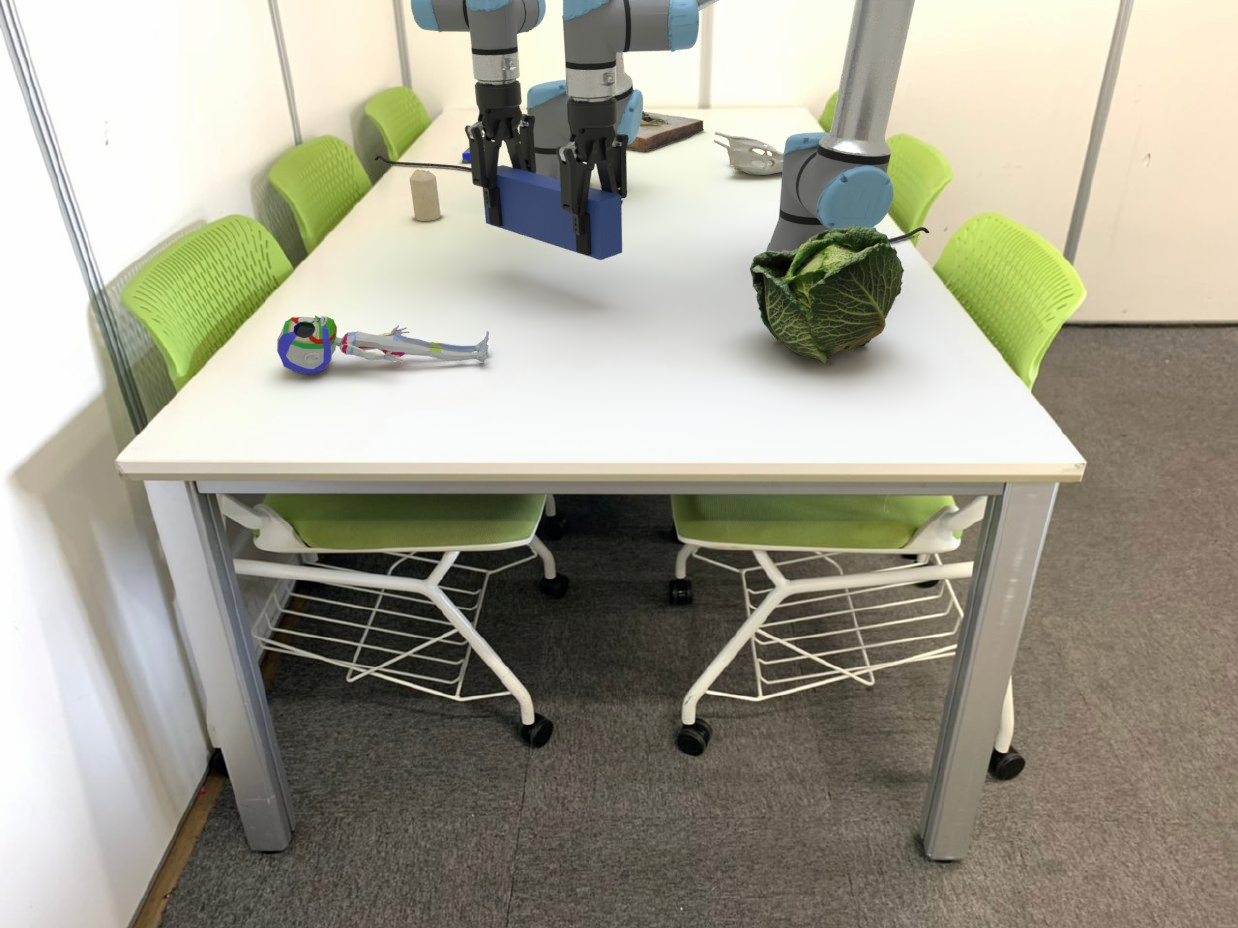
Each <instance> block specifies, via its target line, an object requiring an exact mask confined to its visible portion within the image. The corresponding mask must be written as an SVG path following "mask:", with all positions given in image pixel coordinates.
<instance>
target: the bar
mask: <svg viewBox="0 0 1238 928" xmlns="http://www.w3.org/2000/svg"><path fill="white" fill-rule="evenodd" d="M495 187H497V188H500V199H501V211H502V222H503V226H500V227H499V226H496V225H493V224H490V220H489V209H488V207H487V206H486V205H485V199H484V189H483V188H482V196H483V204H484V205H483V206H484V207H483V208H484V215H485V216H484V217H485V224H487V225H490V226H492V227H496V228H498V229H502V230H505V231H508V232H511V233H514V234H518V235H521V236H524V237H527V238H531V239H532V240H537V241H540V242H542V243H546V244H549V245H553V246H555V247H558V248H562V249H564V250H568V251H570V252H573V253H577V254H580V255H583V256H585V257H586V256H587V257H589V258H591V259H595V260H597V261H602V260H605V259H609V258H611V257H614V256H617V255H620V254H622V253H623V222H622V221H623V217H622V216H623V214H622V211H623V209H622V205H623V203H621V200H622V199H621V195H618V194H614V193H610V192H606V191H602V189H598V188H593V187H590V186H589V193H588V201H587V208H586V213H587V214H590V230H591V255H585V254H582V253H578V252H576V234H574V232H573V219H572V214H571V213H569V212H565V211H563V210H562V209H561V189H560V180H559V179H555V178H552V177H548V176H544V175H540V174H536V173H532V172H528V171H524V170H520V169H516V168H513V167H512V166H508V165H504V164H501V165H498V167H497V177H496V186H495ZM578 206H579V205H578Z"/></svg>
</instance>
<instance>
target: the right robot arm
mask: <svg viewBox="0 0 1238 928" xmlns="http://www.w3.org/2000/svg"><path fill="white" fill-rule="evenodd" d="M719 1H720V0H562V17H561V18H562V27H563V28H562V29H563V46H564V61H565V62H564V63H565V64H564V67H565V69H564V70H565V71H564V72H565V80H566V94H567V95H568V96H570V98H569V99H568V101H567V118H568V124H569V125H570V127H571V136H570V140H569V143H568V144H567V145H565V146H564V147H561V146H558V147H557V148H556V154H557V157H558V160H559V165H560V189H561V209H562V210H563V211H565V212H569V213H571V214H572V219H573V232H574V234H576V252H575V253H577V252H578V253H577V254H580V253H582V254H581V255H583V254H585V255H584V256H586V255H591V230H590V214H587V213H586V208H587V201H588V193H589V187H590V185H591V179H592V172H593V171H594V170H595V167H596V171H597V177H598V180H599V184H600V188H601V189H600V190H602V191H606V192H610V193H614V194H618V195H621V203H622V204H623V203H624V200H623V199H627V196H628V174H627V173H628V172H627V171H628V169H627V168H628V167H627V165H628V164H627V150H628V149H627V144H628V140H629V137H628V135H626V134H621V133H616V132H615V129H614V126H613V125H615V124H616V122H617V100H616V99H615V98H614V97H612V96H613V95H615V94H616V53H617V52H622V53H623V54H624V53H629V52H630V53H633V52H635V53H637V52H667V51H668V52H672V53H674V52H675V51H681V50H690V49H692V48H693V47H694V46H695V45H696V43H697V40H698V37H699V29H700V11H702V10H703V9H706V8H708V7H710V6H711V5H714V4H715V3H718V2H719ZM915 3H916V0H855V1H854V7H853V11H852V18H851V21H850V22H851V23H850V26H849V33H848V38H847V43H846V50H845V54H844V58H843V64H842V70H841V74H840V80H839V86H838V90H837V95H836V101H835V106H834V112H833V117H832V122H831V127H830V130H829V132H827V131H818V132H802V133H795V134H791V135H790V136H788V137H787V138H786V141H785V144H784V151H783V152H782V153H783V170H782V172H781V184H780V185H781V186H780V197H779V198H780V199H779V211H778V212H779V213H778V218H777V219H778V220H777V222H776V225H775V226H774V230H773V233H772V236H771V239H770V241H769V243H768V244H767V247H766V251H765V252H767V251H775V252H776V251H781V252H791V251H793V250H796V249H798V248H800V246H801V245H802V244H804V243H806V241H807V240H808V239H809V238H811V237H813V236H815V235H817V234H818V233H820V232H822V231H825V230H831V229H834V228H838V229H841V228H848V227H850V226H852V225H856V226H855V227H857V226H861V227H873V228H875V226H877V225H878V224H880V223H881V222H882V221H883V220H884V218H885V217H886V216H887V214H888V213H889V211H890V209H891V207H892V204H893V200H894V186H893V182H892V181H891V177H890V176H889V174H888V173H887V172H888V170H889V164H890V159H891V155H892V148H891V147H890V145H889V144H888V142H887V141H886V134H887V133H886V132H887V128H888V124H889V121H890V120H889V119H890V114H891V111H892V105H893V101H894V97H895V93H896V88H897V83H898V78H899V74H900V71H901V65H902V61H903V56H904V53H905V52H904V51H905V48H906V43H907V38H908V34H909V29H910V25H911V21H912V17H913V11H914V7H915ZM582 162H583V163H582ZM578 205H579V206H578ZM919 232H924V233H925V234H930V233H931V232H930V231H929V229H928V228H926V227H924V226H920V227H917V228H915V229H913V230H912V231H910V232H908V233H905V234H902V235H899V236H895V237H892V238H888V239H889V243H894V242H897V241H901V240H904V239H907V238H910V237H912V236H914V235H915V234H917V233H919Z"/></svg>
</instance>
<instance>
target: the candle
mask: <svg viewBox="0 0 1238 928" xmlns="http://www.w3.org/2000/svg"><path fill="white" fill-rule="evenodd" d="M409 183H410V193H411V199H412V207H413V214H414V218H415V220H417V221H421V222H423V221H424V222H429V221H430V222H431V221H434V220H438V219H440V218H441V207H440V200H439V199H440V198H439V190H438V182H437V176H436V175H435V174H434V173H432V172H431V171H430V170H424V169H415V170H414V172H413V173H412V174H411V175H410V177H409Z"/></svg>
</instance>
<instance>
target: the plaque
mask: <svg viewBox="0 0 1238 928" xmlns="http://www.w3.org/2000/svg"><path fill="white" fill-rule="evenodd" d="M704 130H705V129H704V120H702V119H698V118H693V117H685V116H679V115H669V114H663V113H659V112H650V111H644V110H643V112H642V119H641V124H640V128H639V131H638V134H637V136H636V138H635V140H634V141H633V142H632V143H630V144H627V149H626V150H632V151H640V152H648V151H654V150H656V149H659V148H662V147H663V146H664V147H665V146H667V145H670V144H672V143H676V142H680V141H682V140H684V139H687V138H691V137H692V136H694V135H696V134H698V133H700V132H704Z"/></svg>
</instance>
